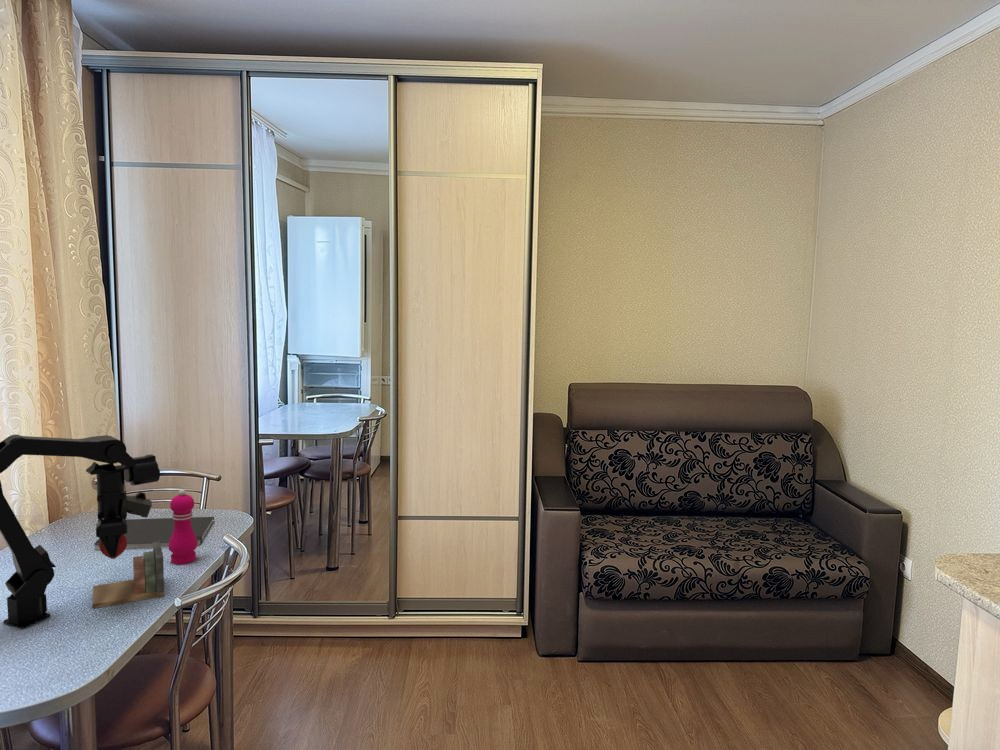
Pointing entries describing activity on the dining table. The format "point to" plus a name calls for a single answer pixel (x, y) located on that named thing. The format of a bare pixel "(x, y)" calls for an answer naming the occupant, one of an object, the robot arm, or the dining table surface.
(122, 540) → the pomegranate
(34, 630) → the dining table surface
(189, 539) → the pepper mill
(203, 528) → the notebook
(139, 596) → the book shelf
